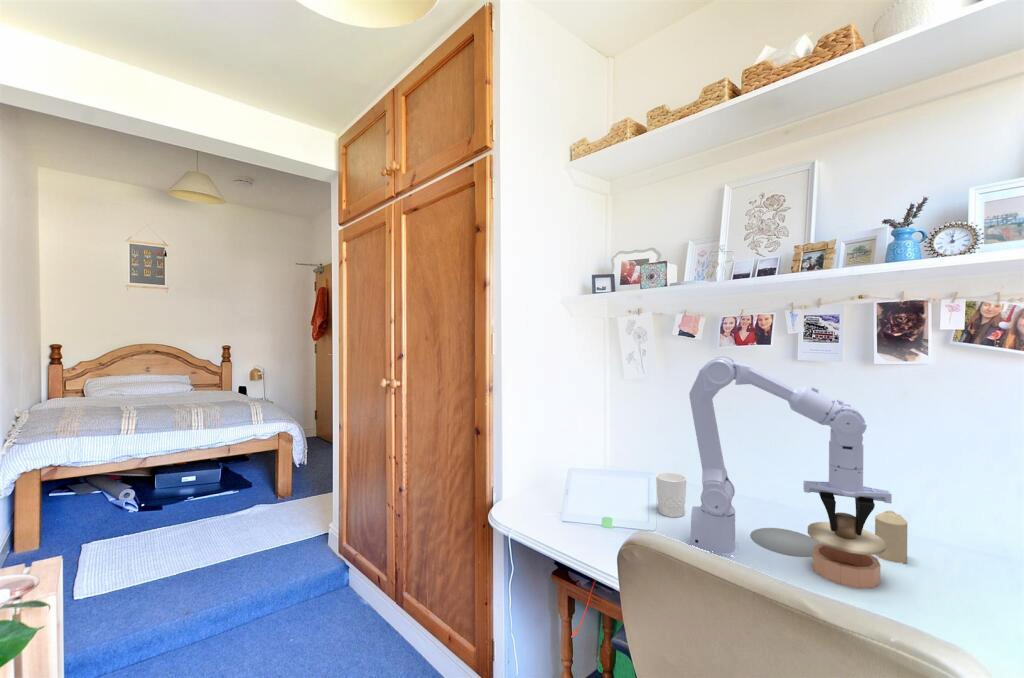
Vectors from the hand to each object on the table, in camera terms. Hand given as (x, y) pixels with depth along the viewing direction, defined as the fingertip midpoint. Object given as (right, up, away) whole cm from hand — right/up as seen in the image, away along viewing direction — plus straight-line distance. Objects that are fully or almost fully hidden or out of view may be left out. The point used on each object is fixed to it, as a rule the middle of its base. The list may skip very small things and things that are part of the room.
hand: (845, 531), depth 96 cm
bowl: (0, -9, 0) cm, 9 cm away
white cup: (-24, -9, +33) cm, 42 cm away
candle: (+15, -9, +7) cm, 19 cm away
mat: (-4, -9, +15) cm, 17 cm away
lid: (0, -2, 0) cm, 2 cm away
